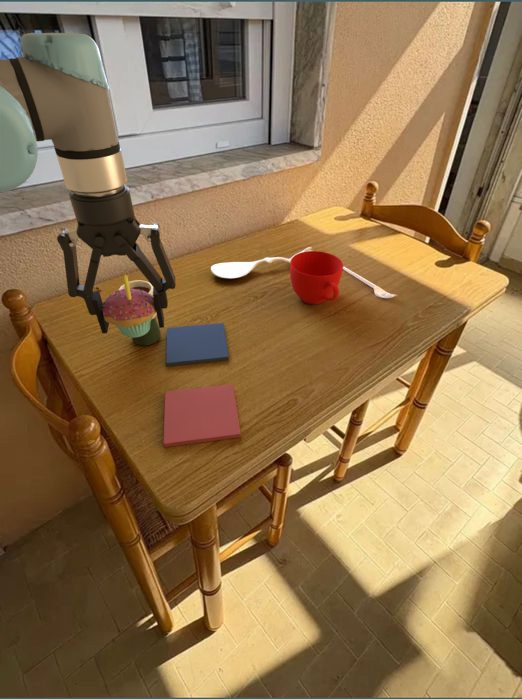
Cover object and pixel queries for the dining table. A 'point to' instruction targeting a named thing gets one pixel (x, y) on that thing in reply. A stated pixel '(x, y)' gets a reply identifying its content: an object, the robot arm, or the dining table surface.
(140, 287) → the character mug
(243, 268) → the spoon
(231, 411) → the rose mat
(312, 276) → the ceramic cup
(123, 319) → the cupcake
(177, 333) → the blue mat
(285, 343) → the dining table surface
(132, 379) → the dining table surface
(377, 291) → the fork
